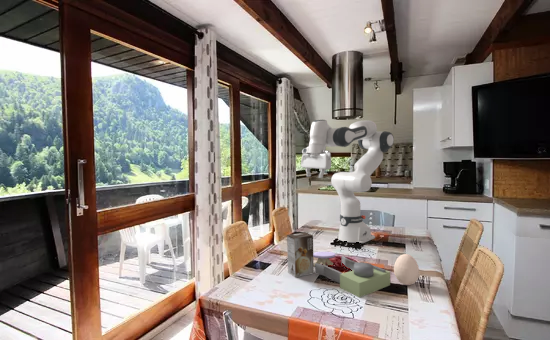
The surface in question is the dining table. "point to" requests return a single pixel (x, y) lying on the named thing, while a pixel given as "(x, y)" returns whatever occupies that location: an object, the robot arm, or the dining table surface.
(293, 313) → the dining table surface
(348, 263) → the chute mount
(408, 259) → the egg
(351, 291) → the green block with dome
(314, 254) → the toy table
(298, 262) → the coffee box
